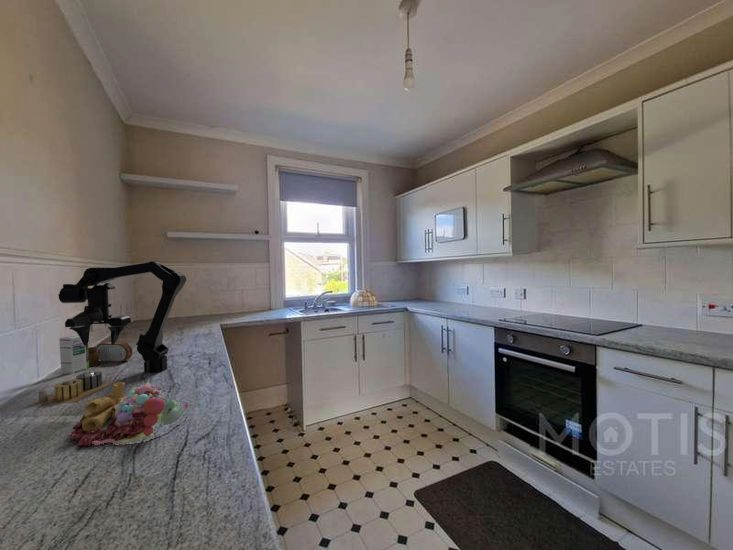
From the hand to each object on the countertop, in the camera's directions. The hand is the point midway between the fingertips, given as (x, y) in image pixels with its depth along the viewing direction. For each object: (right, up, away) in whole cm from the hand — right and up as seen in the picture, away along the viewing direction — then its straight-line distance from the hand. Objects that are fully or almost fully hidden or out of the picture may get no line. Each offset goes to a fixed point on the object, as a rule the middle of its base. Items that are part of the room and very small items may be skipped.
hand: (99, 345), depth 113 cm
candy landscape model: (+37, -13, -32) cm, 51 cm away
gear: (+6, -11, -11) cm, 17 cm away
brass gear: (+7, -11, -19) cm, 23 cm away
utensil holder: (-17, -12, +15) cm, 25 cm away
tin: (-11, -12, +20) cm, 26 cm away
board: (+7, -12, -15) cm, 21 cm away
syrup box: (-13, -12, +5) cm, 19 cm away
